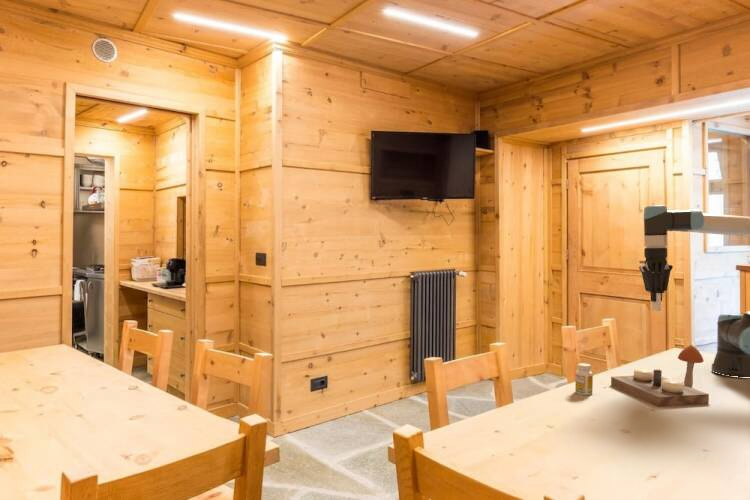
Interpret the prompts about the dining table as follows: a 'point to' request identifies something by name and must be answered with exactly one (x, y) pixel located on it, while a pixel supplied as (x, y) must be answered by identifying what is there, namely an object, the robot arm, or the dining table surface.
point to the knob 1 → (643, 375)
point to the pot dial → (657, 377)
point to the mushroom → (690, 362)
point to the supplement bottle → (584, 379)
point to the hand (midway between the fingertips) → (656, 310)
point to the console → (659, 392)
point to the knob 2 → (672, 386)
